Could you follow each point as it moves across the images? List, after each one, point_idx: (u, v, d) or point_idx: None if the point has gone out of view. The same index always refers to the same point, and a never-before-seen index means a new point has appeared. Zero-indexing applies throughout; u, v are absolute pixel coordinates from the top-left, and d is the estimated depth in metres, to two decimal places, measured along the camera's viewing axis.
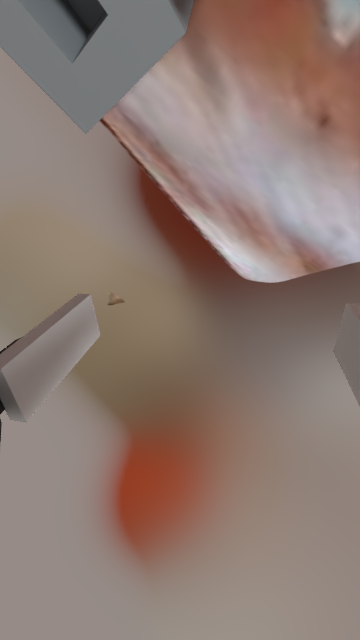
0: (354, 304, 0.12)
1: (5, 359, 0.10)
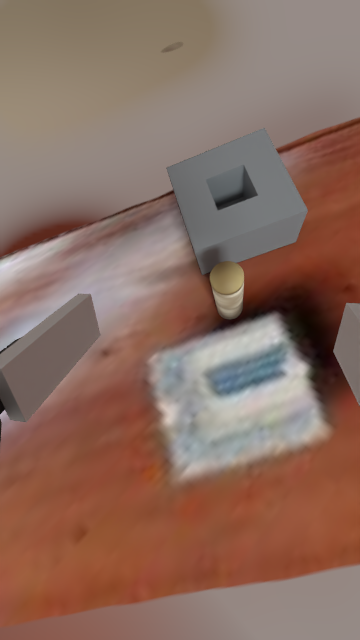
0: (354, 303, 0.12)
1: (5, 359, 0.10)
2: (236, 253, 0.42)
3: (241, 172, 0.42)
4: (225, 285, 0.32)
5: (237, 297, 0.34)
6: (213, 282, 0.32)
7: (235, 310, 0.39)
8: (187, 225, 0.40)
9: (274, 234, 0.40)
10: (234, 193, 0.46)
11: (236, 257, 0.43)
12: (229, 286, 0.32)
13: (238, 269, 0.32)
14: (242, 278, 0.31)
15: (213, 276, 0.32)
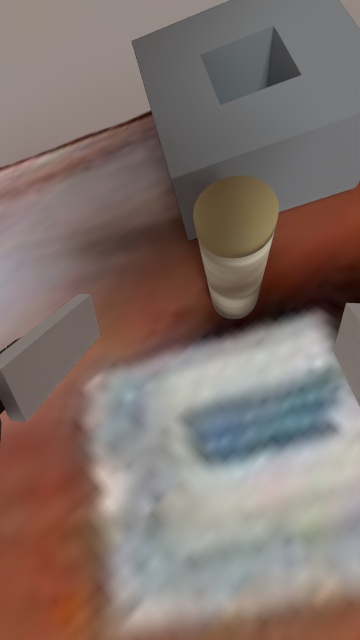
0: (354, 303, 0.12)
1: (5, 359, 0.10)
2: None
3: (267, 47, 0.22)
4: (230, 231, 0.13)
5: (255, 269, 0.15)
6: (201, 224, 0.13)
7: (245, 301, 0.20)
8: (160, 133, 0.20)
9: (326, 158, 0.21)
10: None
11: None
12: (241, 233, 0.12)
13: (265, 193, 0.13)
14: (275, 214, 0.12)
15: (202, 210, 0.13)
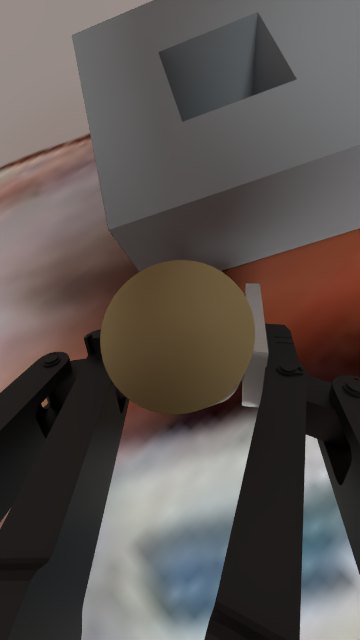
0: (251, 283, 0.15)
1: None
2: (230, 245, 0.17)
3: (251, 43, 0.17)
4: (164, 376, 0.07)
5: (224, 398, 0.09)
6: (113, 355, 0.07)
7: (220, 402, 0.14)
8: (98, 160, 0.14)
9: (333, 195, 0.15)
10: None
11: (230, 256, 0.18)
12: (182, 383, 0.06)
13: (229, 301, 0.07)
14: (247, 347, 0.06)
15: (116, 326, 0.07)
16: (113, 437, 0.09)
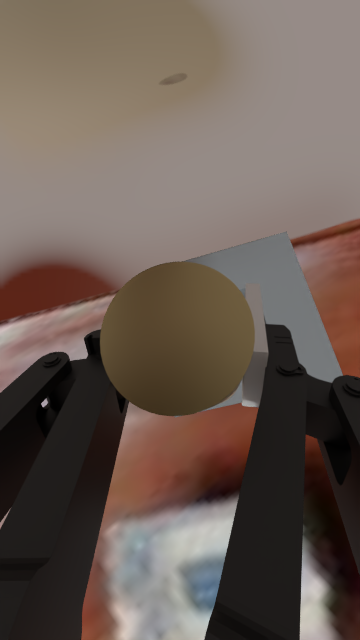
0: (251, 283, 0.15)
1: None
2: None
3: None
4: (164, 377, 0.07)
5: None
6: (113, 356, 0.07)
7: None
8: None
9: None
10: None
11: None
12: (182, 385, 0.06)
13: (229, 302, 0.07)
14: (247, 349, 0.06)
15: (116, 327, 0.07)
16: (113, 437, 0.09)
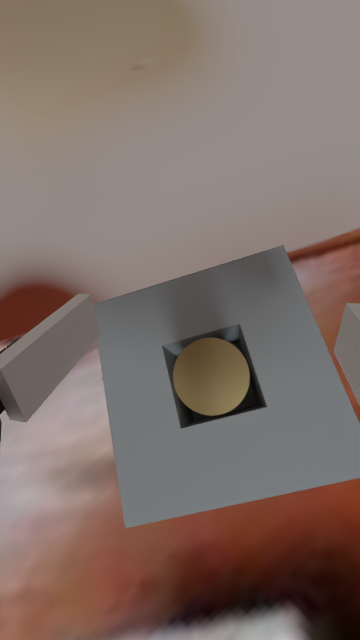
0: (354, 303, 0.12)
1: (5, 359, 0.10)
2: None
3: (235, 328, 0.21)
4: (207, 397, 0.14)
5: None
6: (180, 386, 0.14)
7: None
8: (116, 453, 0.19)
9: None
10: None
11: None
12: (216, 401, 0.14)
13: (237, 360, 0.14)
14: (246, 384, 0.14)
15: (181, 372, 0.14)
16: None
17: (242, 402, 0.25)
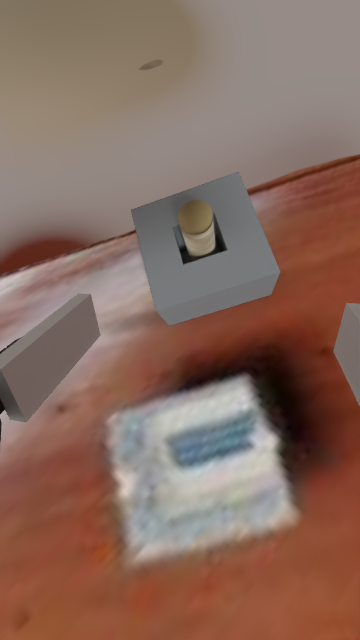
0: (354, 304, 0.12)
1: (5, 359, 0.10)
2: (205, 308, 0.38)
3: None
4: (193, 223, 0.31)
5: (207, 240, 0.33)
6: (181, 221, 0.31)
7: None
8: (149, 279, 0.36)
9: (245, 291, 0.36)
10: None
11: (205, 311, 0.40)
12: (197, 224, 0.31)
13: (207, 207, 0.31)
14: (210, 216, 0.31)
15: (181, 215, 0.31)
16: None
17: None
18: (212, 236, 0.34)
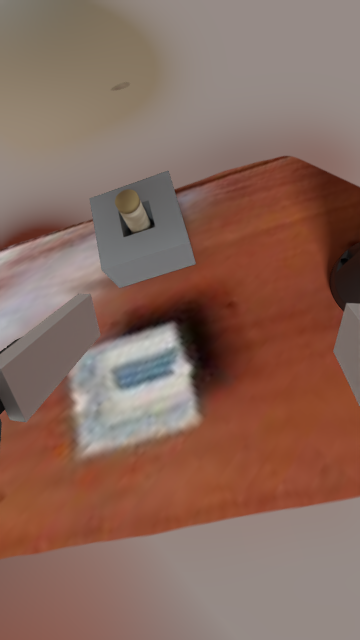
0: (354, 303, 0.12)
1: (5, 359, 0.10)
2: (143, 272, 0.51)
3: (149, 205, 0.51)
4: (124, 205, 0.44)
5: (138, 219, 0.46)
6: (117, 203, 0.44)
7: None
8: (98, 248, 0.48)
9: (170, 258, 0.49)
10: None
11: (145, 275, 0.52)
12: (127, 206, 0.44)
13: (135, 194, 0.44)
14: (136, 200, 0.43)
15: (117, 199, 0.44)
16: None
17: None
18: (143, 216, 0.47)
